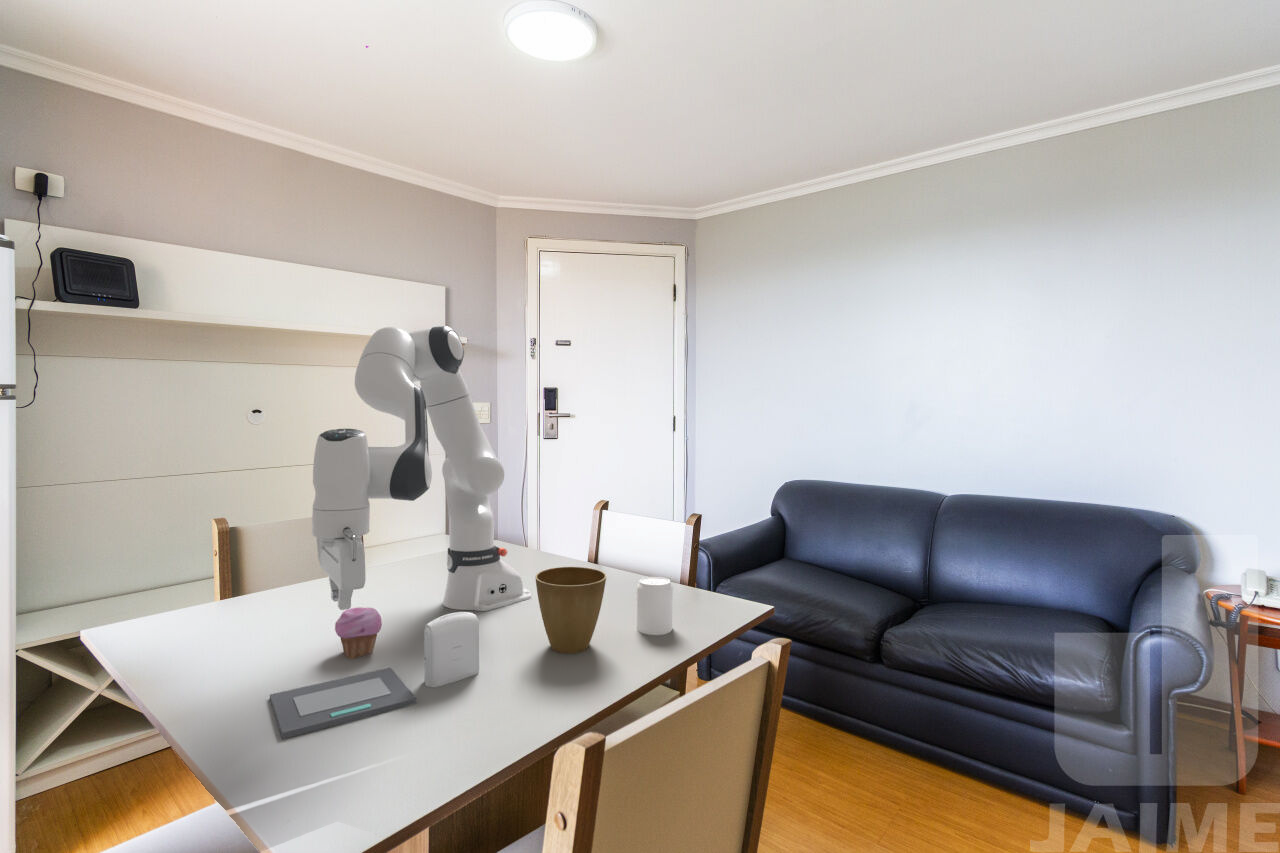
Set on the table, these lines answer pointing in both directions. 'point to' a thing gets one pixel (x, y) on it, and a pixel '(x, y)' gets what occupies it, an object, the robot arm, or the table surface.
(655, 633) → the beverage can
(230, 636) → the table surface
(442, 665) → the photo printer
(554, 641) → the plant pot
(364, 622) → the cupcake
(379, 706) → the charging mat
